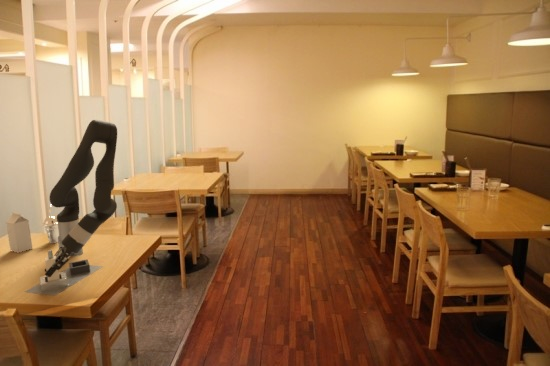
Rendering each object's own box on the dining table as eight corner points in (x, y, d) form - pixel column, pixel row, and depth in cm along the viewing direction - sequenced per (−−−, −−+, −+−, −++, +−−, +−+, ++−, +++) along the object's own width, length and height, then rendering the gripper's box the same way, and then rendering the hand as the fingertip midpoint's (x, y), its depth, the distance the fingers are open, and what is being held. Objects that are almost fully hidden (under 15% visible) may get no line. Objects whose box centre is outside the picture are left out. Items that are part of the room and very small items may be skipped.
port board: (24, 295, 161) (24, 291, 160) (76, 267, 187) (75, 263, 187) (55, 299, 157) (54, 295, 157) (103, 269, 184) (103, 266, 183)
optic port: (41, 292, 160) (40, 284, 159) (40, 283, 167) (39, 276, 167) (67, 286, 164) (66, 278, 163) (66, 278, 172) (65, 271, 171)
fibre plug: (48, 285, 163) (44, 253, 160) (48, 281, 166) (43, 250, 164) (60, 282, 165) (55, 251, 162) (59, 279, 168) (55, 248, 166)
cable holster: (71, 275, 175) (70, 268, 174) (69, 269, 181) (69, 262, 180) (90, 271, 178) (89, 264, 178) (88, 265, 184) (87, 259, 184)
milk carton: (18, 253, 206) (12, 215, 202) (10, 251, 210) (4, 214, 206) (32, 248, 212) (27, 212, 208) (25, 246, 215) (19, 210, 212)
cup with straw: (41, 244, 219) (35, 206, 215) (53, 238, 227) (48, 202, 223) (55, 244, 217) (50, 207, 213) (67, 239, 225) (62, 202, 221)
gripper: (67, 228, 171) (37, 263, 168) (70, 237, 159) (38, 275, 156) (83, 238, 175) (54, 272, 172) (87, 248, 163) (56, 285, 159)
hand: (47, 273), depth 164 cm, fingers closed on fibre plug, 4 cm apart
